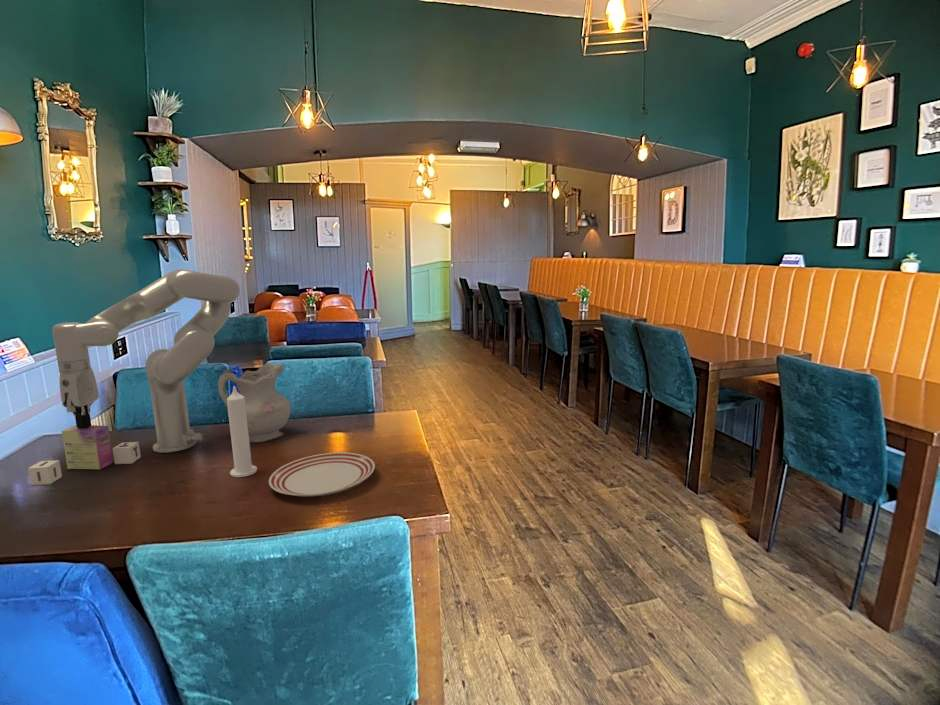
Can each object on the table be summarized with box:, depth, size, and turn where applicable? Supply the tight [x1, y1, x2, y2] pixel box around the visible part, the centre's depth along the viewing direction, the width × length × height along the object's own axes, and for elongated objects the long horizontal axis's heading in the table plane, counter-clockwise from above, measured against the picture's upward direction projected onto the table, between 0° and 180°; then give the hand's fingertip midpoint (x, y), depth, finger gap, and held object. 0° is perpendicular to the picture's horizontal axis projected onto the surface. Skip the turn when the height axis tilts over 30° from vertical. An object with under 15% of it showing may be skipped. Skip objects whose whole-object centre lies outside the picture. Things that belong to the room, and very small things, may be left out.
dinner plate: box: [268, 451, 376, 497], centre depth 148 cm, size 27×27×3 cm
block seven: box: [111, 441, 142, 465], centre depth 167 cm, size 5×5×5 cm
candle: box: [226, 385, 258, 478], centre depth 154 cm, size 7×7×25 cm
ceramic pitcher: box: [217, 362, 291, 443], centre depth 183 cm, size 22×20×25 cm
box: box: [61, 424, 114, 471], centre depth 163 cm, size 10×6×12 cm, turn 84°
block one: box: [27, 459, 63, 486], centre depth 154 cm, size 5×5×5 cm
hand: (84, 427), depth 162 cm, fingers closed
